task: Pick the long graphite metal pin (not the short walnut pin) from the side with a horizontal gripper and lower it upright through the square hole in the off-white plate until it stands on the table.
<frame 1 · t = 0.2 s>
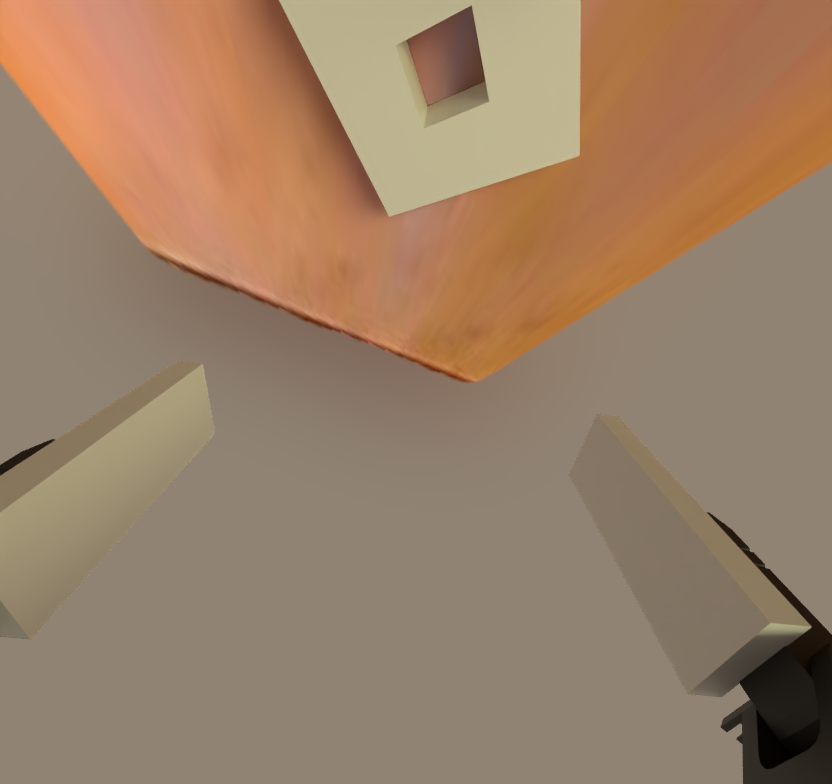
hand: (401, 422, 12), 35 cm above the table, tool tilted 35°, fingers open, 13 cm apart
hole plate: (447, 53, 30), on the table
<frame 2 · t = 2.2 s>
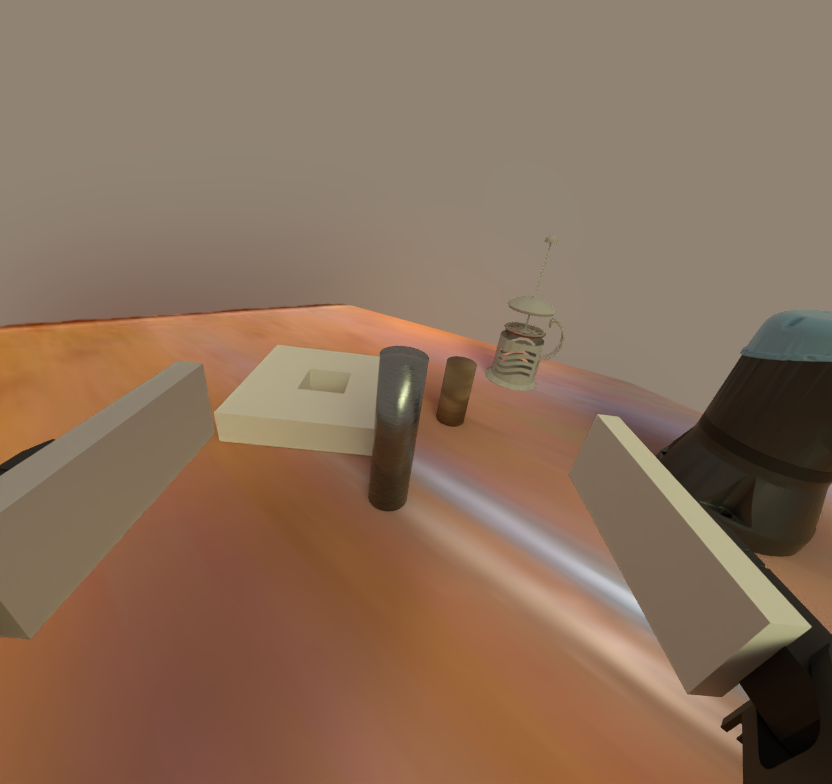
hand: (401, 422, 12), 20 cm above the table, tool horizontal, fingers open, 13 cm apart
french press: (515, 379, 65), on the table
walnut pin: (450, 418, 50), on the table
hole plate: (326, 405, 49), on the table
metal pin: (387, 496, 36), on the table
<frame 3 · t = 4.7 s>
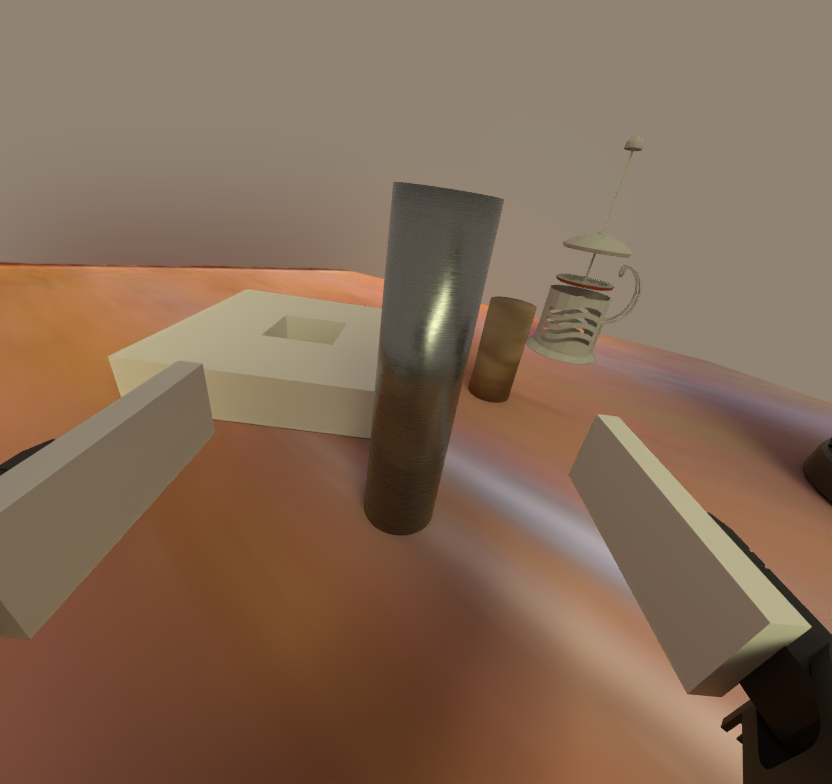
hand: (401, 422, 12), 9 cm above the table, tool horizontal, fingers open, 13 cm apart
french press: (565, 352, 49), on the table
walnut pin: (488, 391, 34), on the table
hole plate: (308, 367, 34), on the table
metal pin: (398, 505, 20), on the table
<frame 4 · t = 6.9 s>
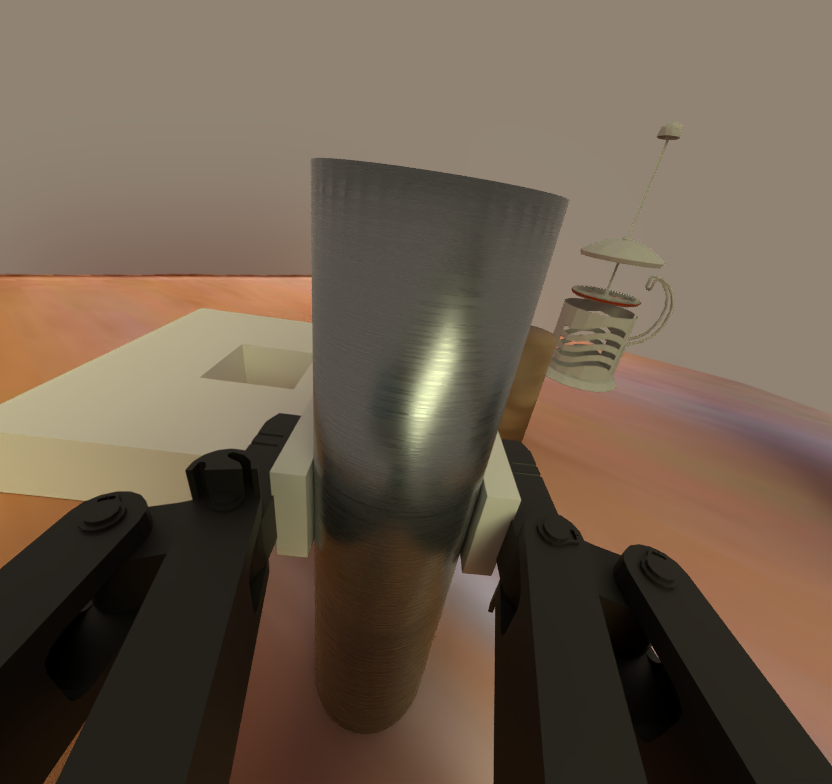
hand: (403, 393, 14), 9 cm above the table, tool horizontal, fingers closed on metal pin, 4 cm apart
french press: (581, 375, 43), on the table
walnut pin: (495, 438, 28), on the table
hole plate: (269, 410, 27), on the table
metal pin: (369, 663, 13), on the table, touching gripper
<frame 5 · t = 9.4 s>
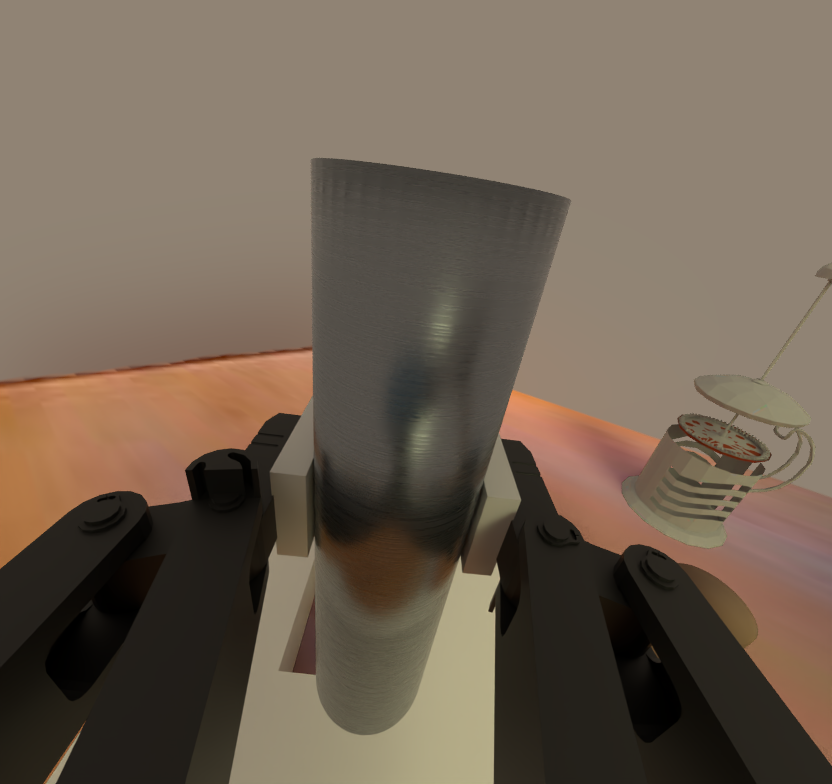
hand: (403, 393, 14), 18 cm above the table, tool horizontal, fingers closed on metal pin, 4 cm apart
french press: (679, 511, 37), on the table
walnut pin: (629, 679, 22), on the table
hole plate: (349, 648, 21), on the table
metal pin: (369, 664, 13), point 9 cm above the table, touching gripper
when the fingers open (10 cm above the table, at t = 11.8 s): metal pin drops 1 cm, resting in hole plate.
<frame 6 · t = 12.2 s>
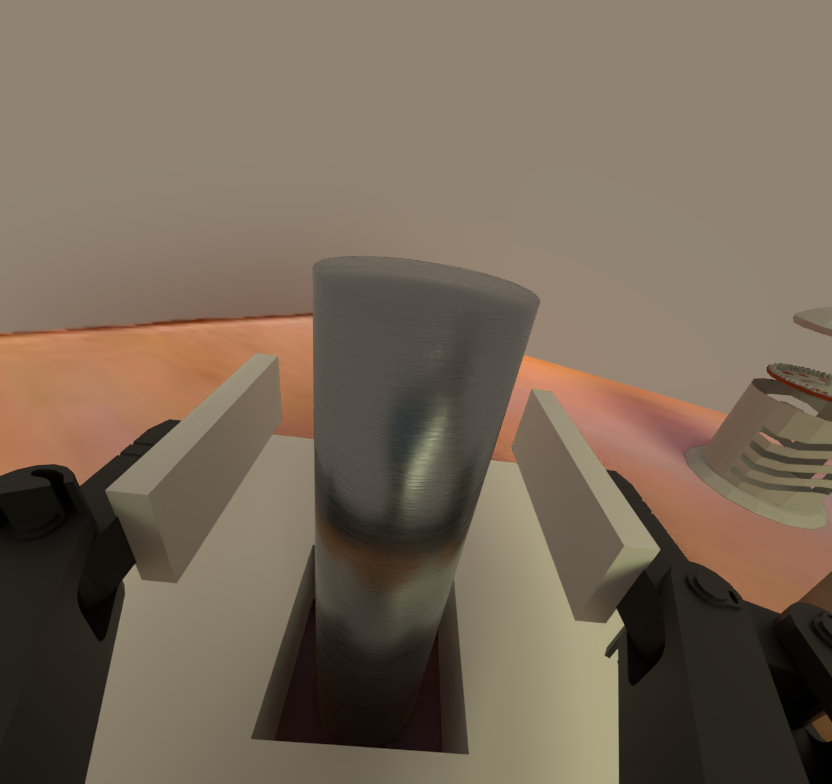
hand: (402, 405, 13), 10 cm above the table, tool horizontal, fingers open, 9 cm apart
french press: (760, 486, 30), on the table
walnut pin: (780, 714, 15), on the table
hole plate: (367, 680, 14), on the table
metal pin: (367, 682, 14), resting in hole plate
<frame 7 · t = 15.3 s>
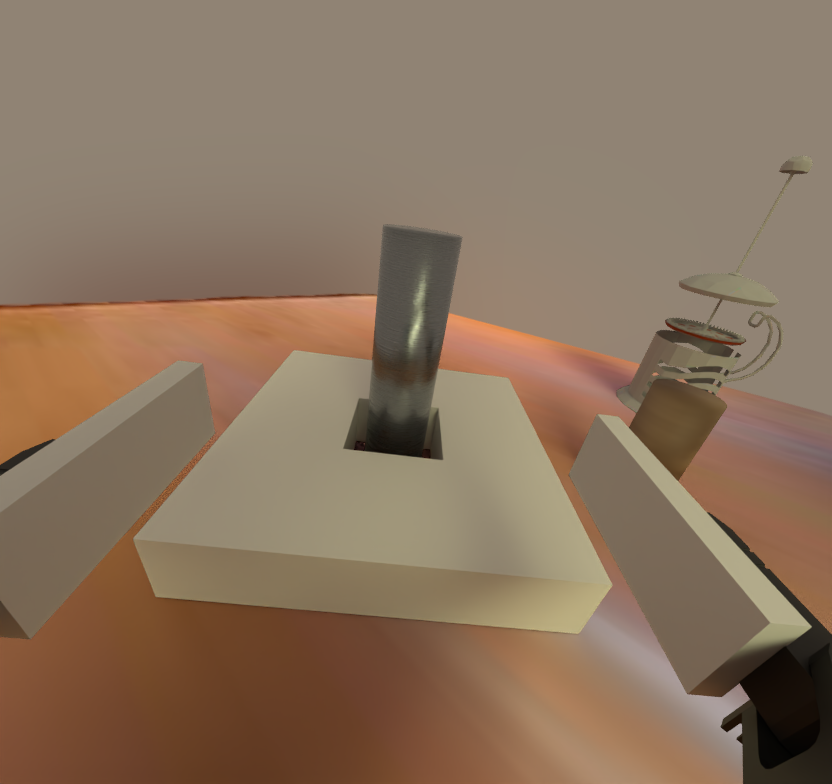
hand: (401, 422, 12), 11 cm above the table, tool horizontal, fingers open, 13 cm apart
french press: (667, 410, 41), on the table
walnut pin: (627, 496, 26), on the table
hole plate: (390, 470, 25), on the table
metal pin: (390, 471, 25), resting in hole plate
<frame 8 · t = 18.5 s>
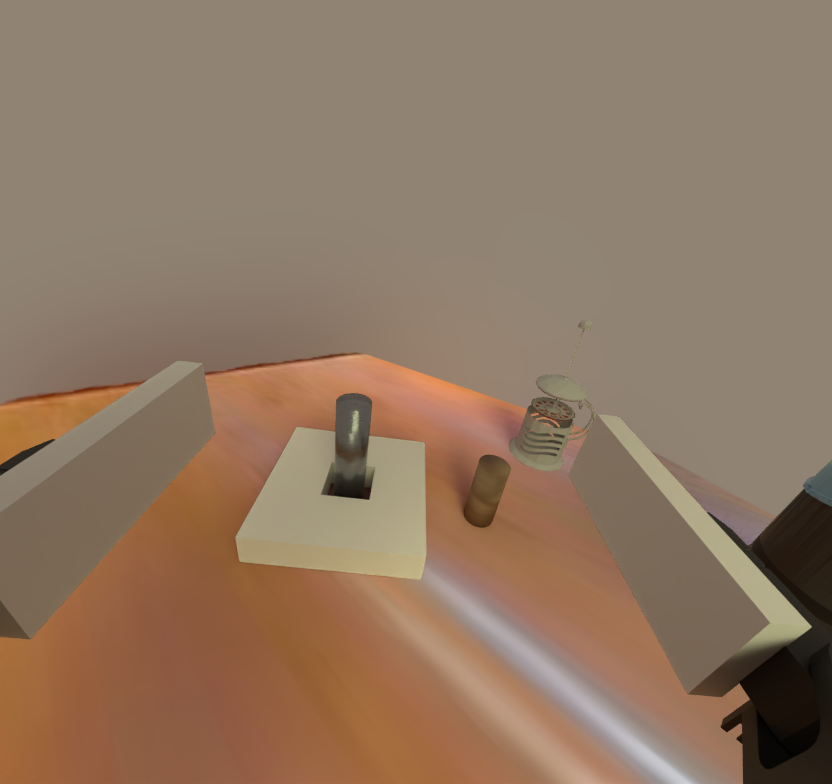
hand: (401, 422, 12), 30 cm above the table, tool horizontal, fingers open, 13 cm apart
french press: (540, 454, 63), on the table
walnut pin: (478, 515, 48), on the table
hole plate: (348, 501, 47), on the table
metal pin: (348, 502, 47), resting in hole plate
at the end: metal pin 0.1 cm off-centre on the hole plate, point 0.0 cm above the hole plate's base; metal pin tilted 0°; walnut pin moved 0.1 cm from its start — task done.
